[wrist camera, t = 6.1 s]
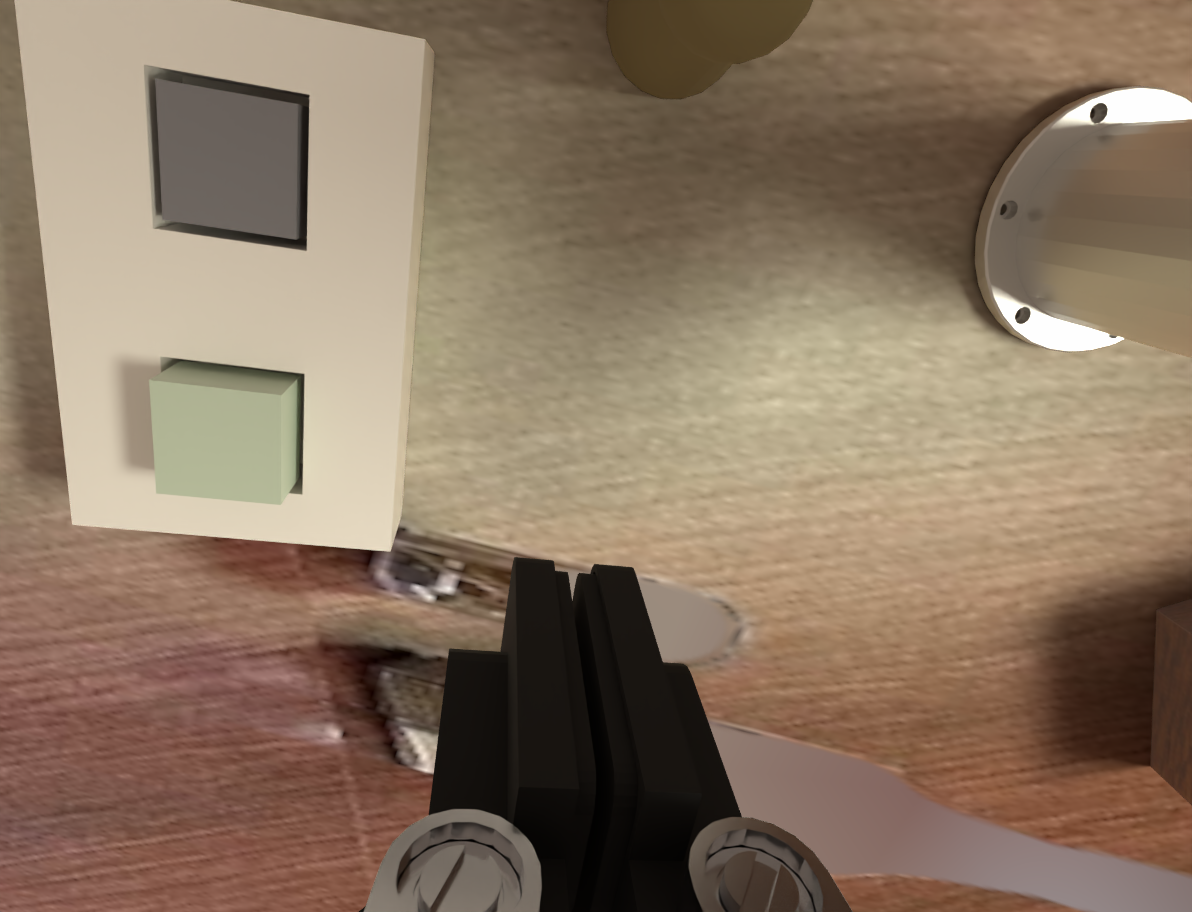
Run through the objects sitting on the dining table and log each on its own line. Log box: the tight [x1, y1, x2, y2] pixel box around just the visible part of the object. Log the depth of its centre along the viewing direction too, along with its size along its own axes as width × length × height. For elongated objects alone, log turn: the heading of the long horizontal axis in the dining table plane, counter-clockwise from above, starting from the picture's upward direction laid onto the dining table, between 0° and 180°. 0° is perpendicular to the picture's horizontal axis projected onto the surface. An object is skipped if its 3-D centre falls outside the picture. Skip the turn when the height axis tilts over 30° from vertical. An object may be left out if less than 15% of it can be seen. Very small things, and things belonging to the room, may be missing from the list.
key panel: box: [14, 0, 435, 551], centre depth 32 cm, size 14×22×4 cm, turn 171°
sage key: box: [149, 361, 301, 505], centre depth 31 cm, size 5×5×3 cm
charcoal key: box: [155, 79, 309, 240], centre depth 29 cm, size 5×5×3 cm
